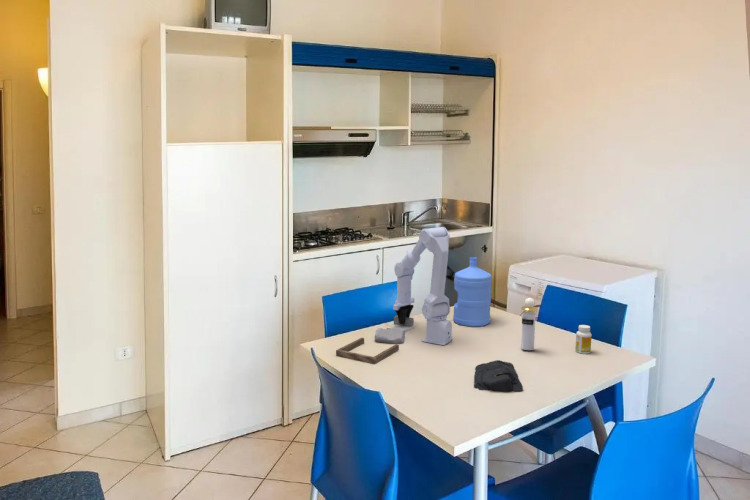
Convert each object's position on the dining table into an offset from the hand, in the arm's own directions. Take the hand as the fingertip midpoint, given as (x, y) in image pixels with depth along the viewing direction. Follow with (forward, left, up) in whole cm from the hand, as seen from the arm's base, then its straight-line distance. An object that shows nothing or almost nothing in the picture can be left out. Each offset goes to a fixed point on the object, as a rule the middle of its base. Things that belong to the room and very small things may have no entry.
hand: (403, 322), depth 263 cm
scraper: (0, +3, -2) cm, 3 cm away
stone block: (-3, +18, -2) cm, 18 cm away
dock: (-4, +34, -2) cm, 34 cm away
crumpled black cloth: (-53, +34, -2) cm, 63 cm away
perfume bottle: (-53, +1, -2) cm, 53 cm away
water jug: (-21, -22, -2) cm, 30 cm away
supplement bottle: (-71, -8, -2) cm, 71 cm away
